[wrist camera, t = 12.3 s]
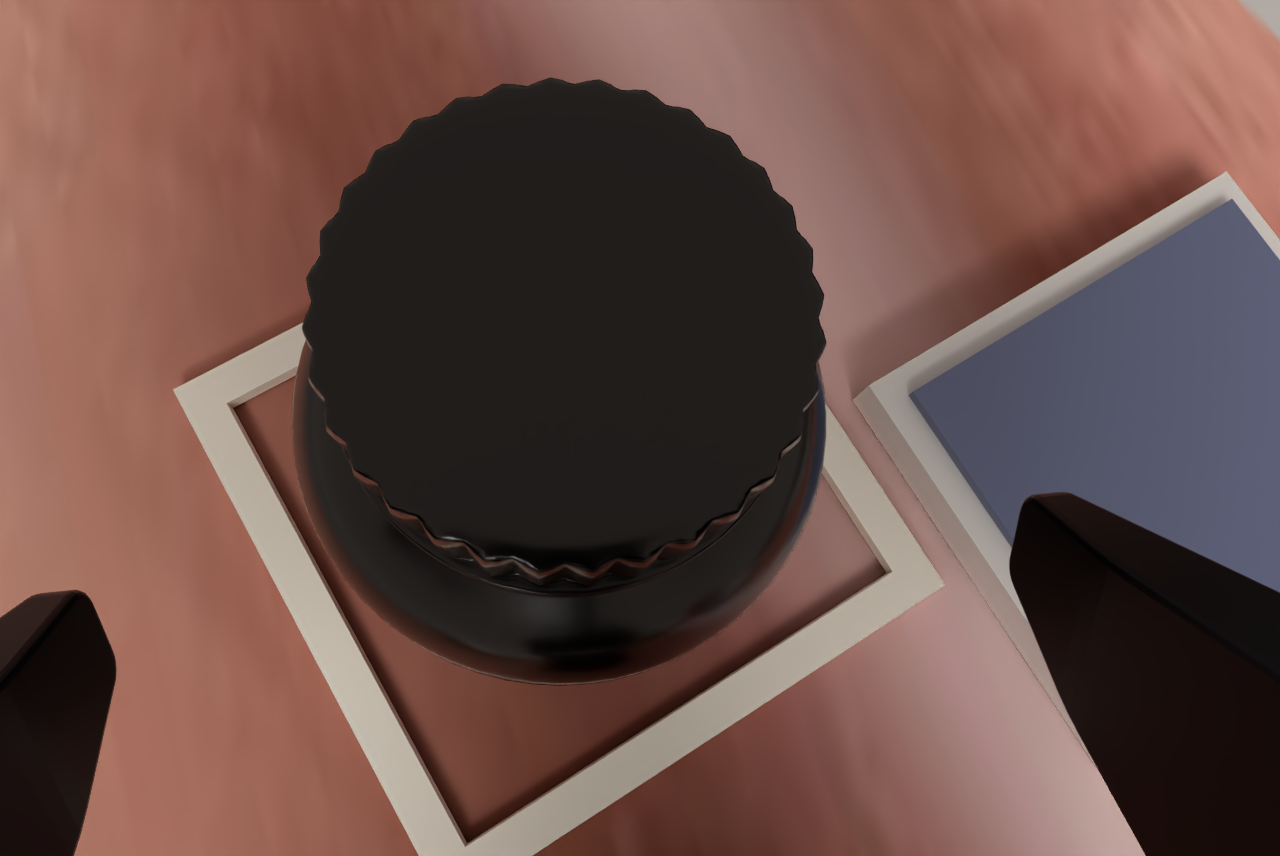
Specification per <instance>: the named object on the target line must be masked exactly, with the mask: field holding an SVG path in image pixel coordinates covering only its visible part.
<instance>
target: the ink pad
mask: <svg viewBox="0 0 1280 856" xmlns="http://www.w3.org/2000/svg"><path fill="white" fill-rule="evenodd" d="M853 402H854V403H855V405H856V406H857V408H858V409H859V411H860V412H861V414H862V415H863V417H864V418H865V420H866V422H867V423H868V425H869V426H870V428H871V429H872V431H873V432H874V434H875V435H876V437H877V438H878V440H879V441H880V443H881V444H882V446H883V447H884V449H885V450H886V452H887V453H888V455H889V456H890V458H891V459H892V461H893V462H894V464H895V465H896V467H897V468H898V470H899V471H900V473H901V474H902V476H903V477H904V479H905V480H906V482H907V483H908V485H909V486H910V488H911V489H912V491H913V492H914V494H915V495H916V497H917V498H918V500H919V501H920V503H921V504H922V506H923V507H924V509H925V510H926V512H927V513H928V515H929V516H930V518H931V519H932V521H933V522H934V524H935V525H936V527H937V528H938V530H939V531H940V533H941V534H942V536H943V537H944V539H945V540H946V542H947V543H948V545H949V546H950V548H951V549H952V551H953V552H954V554H955V555H956V557H957V558H958V560H959V562H960V563H961V565H962V566H963V568H964V569H965V571H966V572H967V574H968V575H969V577H970V578H971V580H972V581H973V583H974V584H975V586H976V587H977V589H978V590H979V592H980V593H981V595H982V596H983V598H984V599H985V601H986V602H987V604H988V605H989V607H990V608H991V610H992V611H993V613H994V614H995V616H996V617H997V619H998V620H999V622H1000V623H1001V625H1002V626H1003V628H1004V629H1005V631H1006V632H1007V634H1008V635H1009V637H1010V638H1011V640H1012V641H1013V643H1014V644H1015V646H1016V647H1017V649H1018V650H1019V652H1020V653H1021V655H1022V656H1023V658H1024V659H1025V661H1026V662H1027V664H1028V665H1029V667H1030V668H1031V670H1032V671H1033V673H1034V674H1035V676H1036V677H1037V679H1038V680H1039V682H1040V683H1041V685H1042V686H1043V688H1044V689H1045V691H1046V692H1047V694H1048V695H1049V697H1050V698H1051V700H1052V702H1053V703H1054V705H1055V706H1056V708H1057V709H1058V711H1059V712H1060V714H1061V715H1062V717H1063V718H1064V720H1065V721H1066V723H1067V724H1068V726H1069V727H1070V729H1071V730H1072V732H1073V733H1074V735H1075V736H1076V738H1077V739H1078V741H1079V742H1080V744H1081V745H1082V747H1083V748H1084V750H1085V751H1086V753H1087V754H1088V756H1089V757H1090V759H1091V760H1092V762H1093V763H1094V761H1093V759H1092V758H1091V756H1090V754H1089V752H1088V750H1087V749H1086V747H1085V745H1084V743H1083V741H1082V740H1081V738H1080V736H1079V734H1078V732H1077V730H1076V728H1075V727H1074V725H1073V723H1072V721H1071V719H1070V717H1069V715H1068V713H1067V711H1066V709H1065V707H1064V705H1063V702H1062V700H1061V698H1060V696H1059V694H1058V691H1057V689H1056V687H1055V684H1054V682H1053V680H1052V677H1051V675H1050V672H1049V670H1048V668H1047V665H1046V663H1045V660H1044V658H1043V656H1042V653H1041V651H1040V648H1039V646H1038V644H1037V641H1036V639H1035V637H1034V634H1033V632H1032V629H1031V627H1030V625H1029V622H1028V620H1027V617H1026V615H1025V613H1024V610H1023V608H1022V605H1021V603H1020V601H1019V598H1018V596H1017V594H1016V591H1015V589H1014V586H1013V584H1012V581H1011V577H1010V571H1009V559H1010V554H1011V549H1012V544H1013V540H1014V535H1015V531H1016V526H1017V522H1018V517H1019V513H1020V509H1021V506H1022V503H1023V502H1024V500H1025V499H1026V498H1027V497H1029V496H1031V495H1034V494H1044V493H1053V492H1069V493H1072V494H1074V495H1076V496H1079V497H1081V498H1083V499H1085V500H1087V501H1089V502H1091V503H1093V504H1095V505H1097V506H1100V507H1102V508H1104V509H1106V510H1108V511H1110V512H1112V513H1114V514H1116V515H1118V516H1121V517H1123V518H1125V519H1127V520H1129V521H1131V522H1133V523H1135V524H1137V525H1139V526H1142V527H1144V528H1146V529H1148V530H1150V531H1152V532H1154V533H1156V534H1158V535H1160V536H1163V537H1165V538H1167V539H1169V540H1171V541H1173V542H1175V543H1177V544H1179V545H1181V546H1184V547H1186V548H1188V549H1190V550H1192V551H1194V552H1196V553H1198V554H1200V555H1202V556H1205V557H1207V558H1209V559H1211V560H1213V561H1215V562H1217V563H1219V564H1221V565H1223V566H1226V567H1228V568H1230V569H1232V570H1234V571H1236V572H1238V573H1240V574H1242V575H1244V576H1247V577H1249V578H1251V579H1253V580H1255V581H1257V582H1259V583H1261V584H1263V585H1266V586H1268V587H1270V588H1272V589H1274V590H1276V591H1278V592H1280V240H1279V238H1278V237H1277V236H1276V234H1275V233H1274V232H1273V231H1272V229H1271V228H1270V227H1269V225H1268V224H1267V223H1266V222H1265V220H1264V219H1263V218H1262V216H1261V215H1260V214H1259V213H1258V211H1257V210H1256V209H1255V207H1254V206H1253V205H1252V204H1251V202H1250V201H1249V200H1248V198H1247V197H1246V196H1245V194H1244V193H1243V192H1242V191H1241V189H1240V188H1239V187H1238V185H1237V184H1236V183H1235V182H1234V180H1233V179H1232V178H1231V176H1230V175H1229V174H1228V173H1227V172H1225V173H1223V174H1222V175H1220V176H1218V177H1217V178H1215V179H1213V180H1212V181H1210V182H1208V183H1207V184H1205V185H1203V186H1201V187H1200V188H1198V189H1196V190H1195V191H1193V192H1191V193H1190V194H1188V195H1186V196H1185V197H1183V198H1181V199H1180V200H1178V201H1176V202H1175V203H1173V204H1171V205H1170V206H1168V207H1166V208H1165V209H1163V210H1161V211H1160V212H1158V213H1156V214H1155V215H1153V216H1151V217H1150V218H1148V219H1146V220H1145V221H1143V222H1141V223H1140V224H1138V225H1136V226H1135V227H1133V228H1131V229H1129V230H1128V231H1126V232H1124V233H1123V234H1121V235H1119V236H1118V237H1116V238H1114V239H1113V240H1111V241H1109V242H1108V243H1106V244H1104V245H1103V246H1101V247H1099V248H1098V249H1096V250H1094V251H1093V252H1091V253H1089V254H1088V255H1086V256H1084V257H1083V258H1081V259H1079V260H1078V261H1076V262H1074V263H1073V264H1071V265H1069V266H1068V267H1066V268H1064V269H1063V270H1061V271H1059V272H1057V273H1056V274H1054V275H1052V276H1051V277H1049V278H1047V279H1046V280H1044V281H1042V282H1041V283H1039V284H1037V285H1036V286H1034V287H1032V288H1031V289H1029V290H1027V291H1026V292H1024V293H1022V294H1021V295H1019V296H1017V297H1016V298H1014V299H1012V300H1011V301H1009V302H1007V303H1006V304H1004V305H1002V306H1001V307H999V308H997V309H996V310H994V311H992V312H990V313H989V314H987V315H985V316H984V317H982V318H980V319H979V320H977V321H975V322H974V323H972V324H970V325H969V326H967V327H965V328H964V329H962V330H960V331H959V332H957V333H955V334H954V335H952V336H950V337H949V338H947V339H945V340H944V341H942V342H940V343H939V344H937V345H935V346H934V347H932V348H930V349H929V350H927V351H925V352H924V353H922V354H920V355H918V356H917V357H915V358H913V359H912V360H910V361H908V362H907V363H905V364H903V365H902V366H900V367H898V368H897V369H895V370H893V371H892V372H890V373H888V374H887V375H885V376H883V377H882V378H880V379H878V380H877V381H875V382H873V383H872V384H870V385H868V386H867V387H866V388H865V389H864V390H863V391H862V392H861V393H860V394H859V395H858V396H856V397H855V398H854V399H853ZM1094 765H1095V763H1094ZM1095 766H1096V765H1095ZM1096 768H1097V767H1096Z"/></svg>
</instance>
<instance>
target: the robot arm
mask: <svg viewBox="0 0 1280 856" xmlns="http://www.w3.org/2000/svg"><path fill="white" fill-rule="evenodd" d="M1009 571H1010V577H1011V581H1012V584H1013V586H1014V589H1015V591H1016V594H1017V596H1018V598H1019V601H1020V603H1021V605H1022V608H1023V610H1024V613H1025V615H1026V617H1027V620H1028V622H1029V625H1030V627H1031V629H1032V632H1033V634H1034V637H1035V639H1036V641H1037V644H1038V646H1039V648H1040V651H1041V653H1042V656H1043V658H1044V660H1045V663H1046V665H1047V668H1048V670H1049V672H1050V675H1051V677H1052V680H1053V682H1054V684H1055V687H1056V689H1057V691H1058V694H1059V696H1060V698H1061V700H1062V702H1063V705H1064V707H1065V709H1066V711H1067V713H1068V715H1069V717H1070V719H1071V721H1072V723H1073V725H1074V727H1075V728H1076V730H1077V732H1078V734H1079V736H1080V738H1081V740H1082V741H1083V743H1084V745H1085V747H1086V749H1087V750H1088V752H1089V754H1090V756H1091V758H1092V759H1093V761H1094V763H1095V765H1096V767H1097V768H1098V770H1099V772H1100V774H1101V776H1102V777H1103V779H1104V781H1105V783H1106V785H1107V786H1108V788H1109V790H1110V792H1111V794H1112V795H1113V797H1114V799H1115V801H1116V803H1117V804H1118V806H1119V808H1120V810H1121V812H1122V814H1123V815H1124V817H1125V819H1126V821H1127V823H1128V824H1129V826H1130V828H1131V830H1132V832H1133V833H1134V835H1135V837H1136V839H1137V841H1138V842H1139V844H1140V846H1141V848H1142V850H1143V851H1144V853H1145V855H1146V856H1280V592H1278V591H1276V590H1274V589H1272V588H1270V587H1268V586H1266V585H1263V584H1261V583H1259V582H1257V581H1255V580H1253V579H1251V578H1249V577H1247V576H1244V575H1242V574H1240V573H1238V572H1236V571H1234V570H1232V569H1230V568H1228V567H1226V566H1223V565H1221V564H1219V563H1217V562H1215V561H1213V560H1211V559H1209V558H1207V557H1205V556H1202V555H1200V554H1198V553H1196V552H1194V551H1192V550H1190V549H1188V548H1186V547H1184V546H1181V545H1179V544H1177V543H1175V542H1173V541H1171V540H1169V539H1167V538H1165V537H1163V536H1160V535H1158V534H1156V533H1154V532H1152V531H1150V530H1148V529H1146V528H1144V527H1142V526H1139V525H1137V524H1135V523H1133V522H1131V521H1129V520H1127V519H1125V518H1123V517H1121V516H1118V515H1116V514H1114V513H1112V512H1110V511H1108V510H1106V509H1104V508H1102V507H1100V506H1097V505H1095V504H1093V503H1091V502H1089V501H1087V500H1085V499H1083V498H1081V497H1079V496H1076V495H1074V494H1072V493H1069V492H1053V493H1044V494H1034V495H1031V496H1029V497H1027V498H1026V499H1025V500H1024V502H1023V503H1022V506H1021V509H1020V513H1019V517H1018V522H1017V526H1016V531H1015V535H1014V540H1013V544H1012V549H1011V554H1010V559H1009ZM115 681H116V660H115V656H114V653H113V650H112V647H111V645H110V643H109V640H108V638H107V636H106V633H105V631H104V629H103V626H102V624H101V622H100V619H99V617H98V614H97V612H96V610H95V607H94V605H93V603H92V601H91V599H90V598H89V597H88V596H87V595H86V593H84V592H82V591H79V590H69V591H59V592H49V593H40V594H36V595H33V596H31V597H29V598H28V599H26V600H25V601H23V602H22V603H20V604H19V605H18V606H16V607H15V608H13V609H12V610H11V611H9V612H8V613H6V614H5V615H3V616H2V617H1V618H0V856H74V853H75V850H76V847H77V844H78V841H79V838H80V835H81V831H82V827H83V823H84V819H85V815H86V812H87V808H88V803H89V799H90V794H91V790H92V785H93V781H94V776H95V772H96V767H97V763H98V758H99V754H100V749H101V744H102V740H103V735H104V731H105V726H106V722H107V717H108V713H109V708H110V704H111V699H112V695H113V690H114V686H115Z"/></svg>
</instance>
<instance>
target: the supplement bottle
mask: <svg viewBox="0 0 1280 856" xmlns="http://www.w3.org/2000/svg"><path fill="white" fill-rule="evenodd" d="M812 267H813V249H812V247H811V246H810V245H809V243H808V242H807V241H806V239H805V238H804V237H802V236H801V234H800V233H799V232H798V230H797V227H796V220H795V215H794V211H793V206H792V205H791V204H789V203H788V202H787V201H786V200H785V199H784V198H783V197H781V196H779V195H778V194H777V193H776V192H775V191H774V190H773V188H772V185H771V182H770V179H769V177H768V175H767V172H766V170H765V168H763V167H762V166H760V165H759V164H757V163H756V162H754V161H751V160H749V159H747V158H746V157H744V156H743V155H742V153H741V151H740V150H739V148H738V146H737V145H736V143H735V142H734V141H733V139H732V138H731V136H729V135H727V134H725V133H722V132H720V131H717V130H714V129H711V128H708V127H706V126H705V125H704V123H703V122H702V121H701V120H700V119H699V118H698V117H697V116H696V115H695V114H694V113H693V112H692V111H691V110H690V109H686V108H682V107H673V106H669V105H665V104H664V103H663V102H662V101H660V100H659V99H658V98H657V97H655V96H654V95H652V94H651V93H649V92H648V91H646V90H620V89H618V88H615V87H614V86H612V85H611V84H609V83H606V82H604V81H601V80H592V81H585V82H581V83H577V84H573V83H568V82H566V81H563V80H560V79H555V78H548V79H545V80H542V81H539V82H536V83H534V84H532V85H529V86H523V85H516V84H501V85H499V86H498V87H496V88H494V89H492V90H490V91H489V92H487V93H486V94H484V95H483V96H479V97H461V98H456V99H455V100H453V101H452V102H451V103H450V104H448V105H447V106H446V107H445V108H444V109H443V110H442V111H441V112H440V113H439V114H437V115H434V116H430V117H423V118H420V119H417V120H414V121H413V122H412V123H411V124H410V125H409V126H408V128H407V129H406V130H405V132H404V133H403V135H402V136H401V137H400V139H399V140H397V141H395V142H394V143H392V144H388V145H385V146H383V147H382V148H380V149H378V150H376V151H375V152H374V154H373V156H372V158H371V160H370V162H369V164H368V167H367V169H366V172H365V173H364V174H362V175H361V176H359V177H358V178H356V179H355V180H353V181H352V182H351V183H349V184H348V185H347V186H346V187H344V189H343V193H342V196H341V200H340V206H339V211H338V213H337V214H336V215H335V216H334V217H333V218H332V219H331V220H329V221H328V222H327V224H326V225H325V226H324V227H323V228H322V229H321V231H320V256H319V258H318V260H317V262H316V263H315V264H314V265H313V266H312V268H311V270H310V272H309V273H308V275H307V277H306V281H307V287H308V292H309V296H310V299H311V305H310V308H309V310H308V312H307V314H306V316H305V319H304V322H303V325H302V331H303V334H304V336H305V339H306V340H305V343H304V346H303V349H302V352H301V356H300V361H299V365H298V369H297V373H296V378H295V385H294V393H293V400H292V442H293V456H294V461H295V467H296V473H297V478H298V483H299V486H300V490H301V493H302V497H303V500H304V504H305V507H306V510H307V512H308V515H309V517H310V519H311V522H312V524H313V527H314V529H315V532H316V534H317V536H318V537H319V539H320V541H321V543H322V545H323V547H324V549H325V551H326V552H327V554H328V556H329V558H330V559H331V560H332V562H333V563H334V565H335V566H336V568H337V569H338V571H339V572H340V574H341V575H342V577H343V578H344V579H345V581H346V582H347V583H348V584H349V585H350V586H351V588H352V589H353V590H354V591H355V592H356V594H357V595H358V596H359V597H360V598H361V599H362V600H363V601H364V602H365V603H366V604H367V605H368V606H369V607H370V608H371V609H372V610H373V611H374V612H375V613H376V614H377V615H378V616H379V617H380V618H381V619H383V620H384V621H385V622H387V623H388V624H389V625H390V626H392V627H393V628H394V629H395V630H397V631H398V632H399V633H401V634H402V635H403V636H405V637H406V638H408V639H409V640H411V641H413V642H414V643H416V644H417V645H419V646H421V647H422V648H424V649H425V650H427V651H429V652H431V653H433V654H435V655H437V656H439V657H441V658H443V659H445V660H447V661H449V662H451V663H453V664H455V665H458V666H461V667H464V668H466V669H469V670H472V671H474V672H477V673H480V674H484V675H488V676H492V677H495V678H499V679H503V680H508V681H515V682H521V683H528V684H538V685H559V686H561V685H580V684H591V683H598V682H604V681H611V680H616V679H619V678H623V677H627V676H631V675H635V674H639V673H642V672H644V671H647V670H650V669H652V668H655V667H658V666H661V665H663V664H666V663H668V662H670V661H672V660H674V659H676V658H678V657H680V656H682V655H684V654H686V653H688V652H690V651H692V650H694V649H695V648H697V647H698V646H700V645H702V644H703V643H705V642H706V641H708V640H710V639H711V638H713V637H714V636H716V635H717V634H718V633H720V632H721V631H722V630H724V629H725V628H726V627H728V626H729V625H730V624H731V623H733V622H734V621H735V620H737V619H738V618H739V617H740V616H741V615H742V614H743V613H744V612H745V611H746V610H747V609H748V608H749V607H750V606H751V605H752V604H753V603H754V602H755V601H756V600H757V599H758V598H759V597H760V596H761V595H762V593H763V592H764V591H765V590H766V589H767V588H768V586H769V585H770V584H771V583H772V582H773V580H774V579H775V578H776V576H777V575H778V573H779V572H780V570H781V569H782V568H783V566H784V565H785V563H786V562H787V560H788V559H789V557H790V555H791V553H792V551H793V550H794V548H795V546H796V544H797V543H798V541H799V539H800V537H801V535H802V532H803V530H804V528H805V525H806V523H807V521H808V518H809V516H810V514H811V511H812V507H813V504H814V501H815V498H816V495H817V492H818V488H819V483H820V478H821V473H822V469H823V463H824V454H825V444H826V404H825V394H824V386H823V381H822V375H821V370H820V365H819V359H820V357H821V355H822V353H823V351H824V348H825V346H826V339H825V335H824V332H823V329H822V327H821V325H820V321H819V315H820V311H821V309H822V305H823V299H824V293H823V291H822V289H821V287H820V285H819V283H818V281H817V280H816V278H815V276H814V275H813V273H812Z"/></svg>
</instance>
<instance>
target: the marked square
mask: <svg viewBox="0 0 1280 856" xmlns="http://www.w3.org/2000/svg"><path fill="white" fill-rule="evenodd" d="M302 325H303V323H301V324H299V325H297V326H295V327H293V328H291V329H289V330H287V331H285V332H284V333H282V334H280V335H278V336H276V337H274V338H272V339H270V340H268V341H266V342H264V343H262V344H260V345H258V346H256V347H254V348H253V349H251V350H249V351H247V352H245V353H243V354H241V355H239V356H237V357H235V358H233V359H231V360H229V361H227V362H225V363H223V364H221V365H220V366H218V367H216V368H214V369H212V370H210V371H208V372H206V373H204V374H202V375H200V376H198V377H196V378H194V379H192V380H190V381H188V382H187V383H185V384H183V385H181V386H179V387H177V388H175V389H173V391H174V393H175V395H176V397H177V399H178V401H179V403H180V404H181V406H182V408H183V410H184V412H185V414H186V416H187V418H188V420H189V421H190V423H191V425H192V427H193V429H194V431H195V433H196V435H197V437H198V438H199V440H200V442H201V444H202V446H203V448H204V450H205V452H206V454H207V456H208V457H209V459H210V461H211V463H212V465H213V467H214V469H215V471H216V473H217V474H218V476H219V478H220V480H221V482H222V484H223V486H224V488H225V490H226V492H227V493H228V495H229V497H230V499H231V501H232V503H233V505H234V507H235V509H236V510H237V512H238V514H239V516H240V518H241V520H242V522H243V524H244V526H245V527H246V529H247V531H248V533H249V535H250V537H251V539H252V541H253V543H254V545H255V546H256V548H257V550H258V552H259V554H260V556H261V558H262V560H263V562H264V563H265V565H266V567H267V569H268V571H269V573H270V575H271V577H272V579H273V581H274V582H275V584H276V586H277V588H278V590H279V592H280V594H281V596H282V598H283V599H284V601H285V603H286V605H287V607H288V609H289V611H290V613H291V615H292V616H293V618H294V620H295V622H296V624H297V626H298V628H299V630H300V632H301V634H302V635H303V637H304V639H305V641H306V643H307V645H308V647H309V649H310V651H311V652H312V654H313V656H314V658H315V660H316V662H317V664H318V666H319V668H320V670H321V671H322V673H323V675H324V677H325V679H326V681H327V683H328V685H329V687H330V688H331V690H332V692H333V694H334V696H335V698H336V700H337V702H338V704H339V705H340V707H341V709H342V711H343V713H344V715H345V717H346V719H347V721H348V723H349V724H350V726H351V728H352V730H353V732H354V734H355V736H356V738H357V740H358V741H359V743H360V745H361V747H362V749H363V751H364V753H365V755H366V757H367V759H368V760H369V762H370V764H371V766H372V768H373V770H374V772H375V774H376V776H377V777H378V779H379V781H380V783H381V785H382V787H383V789H384V791H385V793H386V794H387V796H388V798H389V800H390V802H391V804H392V806H393V808H394V810H395V812H396V813H397V815H398V817H399V819H400V821H401V823H402V825H403V827H404V829H405V830H406V832H407V834H408V836H409V838H410V840H411V842H412V844H413V846H414V848H415V849H416V851H417V853H418V855H419V856H533V855H534V854H536V853H537V852H539V851H540V850H542V849H543V848H545V847H546V846H548V845H549V844H551V843H552V842H554V841H555V840H557V839H559V838H560V837H562V836H563V835H565V834H566V833H568V832H569V831H571V830H572V829H574V828H575V827H577V826H578V825H580V824H581V823H583V822H584V821H586V820H588V819H589V818H591V817H592V816H594V815H595V814H597V813H598V812H600V811H601V810H603V809H604V808H606V807H607V806H609V805H610V804H612V803H613V802H615V801H617V800H618V799H620V798H621V797H623V796H624V795H626V794H627V793H629V792H630V791H632V790H633V789H635V788H636V787H638V786H639V785H641V784H642V783H644V782H646V781H647V780H649V779H650V778H652V777H653V776H655V775H656V774H658V773H659V772H661V771H662V770H664V769H665V768H667V767H668V766H670V765H672V764H673V763H675V762H676V761H678V760H679V759H681V758H682V757H684V756H685V755H687V754H688V753H690V752H691V751H693V750H694V749H696V748H697V747H699V746H701V745H702V744H704V743H705V742H707V741H708V740H710V739H711V738H713V737H714V736H716V735H717V734H719V733H720V732H722V731H723V730H725V729H726V728H728V727H730V726H731V725H733V724H734V723H736V722H737V721H739V720H740V719H742V718H743V717H745V716H746V715H748V714H749V713H751V712H752V711H754V710H756V709H757V708H759V707H760V706H762V705H763V704H765V703H766V702H768V701H769V700H771V699H772V698H774V697H775V696H777V695H778V694H780V693H781V692H783V691H785V690H786V689H788V688H789V687H791V686H792V685H794V684H795V683H797V682H798V681H800V680H801V679H803V678H804V677H806V676H807V675H809V674H810V673H812V672H814V671H815V670H817V669H818V668H820V667H821V666H823V665H824V664H826V663H827V662H829V661H830V660H832V659H833V658H835V657H836V656H838V655H839V654H841V653H843V652H844V651H846V650H847V649H849V648H850V647H852V646H853V645H855V644H856V643H858V642H859V641H861V640H862V639H864V638H865V637H867V636H869V635H870V634H872V633H873V632H875V631H876V630H878V629H879V628H881V627H882V626H884V625H885V624H887V623H888V622H890V621H891V620H893V619H894V618H896V617H898V616H899V615H901V614H902V613H904V612H905V611H907V610H908V609H910V608H911V607H913V606H914V605H916V604H917V603H919V602H920V601H922V600H923V599H925V598H927V597H928V596H930V595H931V594H933V593H934V592H936V591H937V590H939V589H940V588H942V587H943V586H945V583H944V582H943V580H942V579H941V577H940V576H939V574H938V573H937V571H936V570H935V568H934V567H933V565H932V564H931V562H930V561H929V559H928V558H927V556H926V555H925V553H924V552H923V550H922V548H921V547H920V545H919V544H918V542H917V541H916V539H915V538H914V536H913V535H912V533H911V532H910V530H909V529H908V527H907V526H906V524H905V523H904V521H903V520H902V518H901V517H900V515H899V514H898V512H897V511H896V509H895V507H894V506H893V504H892V503H891V501H890V500H889V498H888V497H887V495H886V494H885V492H884V491H883V489H882V488H881V486H880V485H879V483H878V482H877V480H876V479H875V477H874V476H873V474H872V473H871V471H870V470H869V468H868V466H867V465H866V463H865V462H864V460H863V459H862V457H861V456H860V454H859V453H858V451H857V450H856V448H855V447H854V445H853V444H852V442H851V441H850V439H849V438H848V436H847V435H846V433H845V432H844V430H843V429H842V427H841V425H840V424H839V422H838V421H837V419H836V418H835V416H834V415H833V413H832V412H831V410H830V409H829V407H828V406H827V404H826V403H825V404H826V444H825V454H824V463H823V469H822V475H823V476H824V478H825V479H826V481H827V482H828V484H829V485H830V487H831V488H832V490H833V491H834V493H835V495H836V496H837V498H838V499H839V501H840V502H841V504H842V505H843V507H844V508H845V510H846V512H847V513H848V515H849V516H850V518H851V519H852V521H853V522H854V524H855V525H856V527H857V528H858V530H859V532H860V533H861V535H862V536H863V538H864V539H865V541H866V542H867V544H868V545H869V547H870V549H871V550H872V552H873V553H874V555H875V556H876V558H877V559H878V561H879V562H880V564H881V565H882V567H883V569H884V570H885V572H886V574H885V575H883V576H882V577H880V578H879V579H877V580H876V581H874V582H872V583H871V584H869V585H868V586H866V587H865V588H863V589H862V590H860V591H858V592H857V593H855V594H854V595H852V596H851V597H849V598H848V599H846V600H844V601H843V602H841V603H840V604H838V605H837V606H835V607H834V608H832V609H830V610H829V611H827V612H826V613H824V614H823V615H821V616H820V617H818V618H816V619H815V620H813V621H812V622H810V623H809V624H807V625H806V626H804V627H802V628H801V629H799V630H798V631H796V632H795V633H793V634H792V635H790V636H788V637H787V638H785V639H784V640H782V641H781V642H779V643H778V644H776V645H774V646H773V647H771V648H770V649H768V650H767V651H765V652H764V653H762V654H760V655H759V656H757V657H756V658H754V659H753V660H751V661H750V662H748V663H746V664H745V665H743V666H742V667H740V668H739V669H737V670H736V671H734V672H733V673H731V674H729V675H728V676H726V677H725V678H723V679H722V680H720V681H719V682H717V683H715V684H714V685H712V686H711V687H709V688H708V689H706V690H705V691H703V692H701V693H700V694H698V695H697V696H695V697H694V698H692V699H691V700H689V701H687V702H686V703H684V704H683V705H681V706H680V707H678V708H677V709H675V710H673V711H672V712H670V713H669V714H667V715H666V716H664V717H663V718H661V719H659V720H658V721H656V722H655V723H653V724H652V725H650V726H649V727H647V728H645V729H644V730H642V731H641V732H639V733H638V734H636V735H635V736H633V737H631V738H630V739H628V740H627V741H625V742H624V743H622V744H621V745H619V746H617V747H616V748H614V749H613V750H611V751H610V752H608V753H607V754H605V755H603V756H602V757H600V758H599V759H597V760H596V761H594V762H593V763H591V764H589V765H588V766H586V767H585V768H583V769H582V770H580V771H579V772H577V773H575V774H574V775H572V776H571V777H569V778H568V779H566V780H565V781H563V782H561V783H560V784H558V785H557V786H555V787H554V788H552V789H551V790H549V791H547V792H546V793H544V794H543V795H541V796H540V797H538V798H537V799H535V800H533V801H532V802H530V803H529V804H527V805H526V806H524V807H523V808H521V809H520V810H518V811H516V812H515V813H513V814H512V815H510V816H509V817H507V818H506V819H504V820H502V821H501V822H499V823H498V824H496V825H495V826H493V827H492V828H490V829H488V830H487V831H485V832H484V833H482V834H481V835H479V836H478V837H476V838H474V839H473V840H471V841H470V842H468V843H467V842H466V840H465V838H464V836H463V834H462V833H461V831H460V829H459V827H458V825H457V823H456V821H455V820H454V818H453V816H452V814H451V812H450V810H449V808H448V807H447V805H446V803H445V801H444V799H443V797H442V795H441V794H440V792H439V790H438V788H437V786H436V784H435V782H434V781H433V779H432V777H431V775H430V773H429V771H428V769H427V768H426V766H425V764H424V762H423V760H422V758H421V756H420V755H419V753H418V751H417V749H416V747H415V745H414V743H413V742H412V740H411V738H410V736H409V734H408V732H407V730H406V729H405V727H404V725H403V723H402V721H401V719H400V717H399V716H398V714H397V712H396V710H395V708H394V706H393V704H392V703H391V701H390V699H389V697H388V695H387V693H386V691H385V690H384V688H383V686H382V684H381V682H380V680H379V678H378V677H377V675H376V673H375V671H374V669H373V667H372V665H371V663H370V662H369V660H368V658H367V656H366V654H365V652H364V650H363V649H362V647H361V645H360V643H359V641H358V639H357V637H356V636H355V634H354V632H353V630H352V628H351V626H350V624H349V623H348V621H347V619H346V617H345V615H344V613H343V611H342V610H341V608H340V606H339V604H338V602H337V600H336V598H335V597H334V595H333V593H332V591H331V589H330V587H329V585H328V584H327V582H326V580H325V578H324V576H323V574H322V572H321V571H320V569H319V567H318V565H317V563H316V561H315V559H314V558H313V556H312V554H311V552H310V550H309V548H308V546H307V545H306V543H305V541H304V539H303V537H302V535H301V533H300V532H299V530H298V528H297V526H296V524H295V522H294V520H293V519H292V517H291V515H290V513H289V511H288V509H287V507H286V506H285V504H284V502H283V500H282V498H281V496H280V494H279V493H278V491H277V489H276V487H275V485H274V483H273V481H272V480H271V478H270V476H269V474H268V472H267V470H266V468H265V467H264V465H263V463H262V461H261V459H260V457H259V455H258V454H257V452H256V450H255V448H254V446H253V444H252V442H251V441H250V439H249V437H248V435H247V433H246V431H245V429H244V428H243V426H242V424H241V422H240V420H239V418H238V416H237V415H236V413H235V411H234V409H233V408H234V407H236V406H238V405H240V404H242V403H244V402H246V401H248V400H250V399H251V398H253V397H255V396H257V395H259V394H261V393H263V392H265V391H267V390H269V389H270V388H272V387H274V386H276V385H278V384H280V383H282V382H284V381H286V380H288V379H290V378H291V377H293V376H295V375H296V373H297V369H298V365H299V361H300V356H301V352H302V349H303V346H304V343H305V340H306V339H305V336H304V334H303V331H302Z"/></svg>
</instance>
